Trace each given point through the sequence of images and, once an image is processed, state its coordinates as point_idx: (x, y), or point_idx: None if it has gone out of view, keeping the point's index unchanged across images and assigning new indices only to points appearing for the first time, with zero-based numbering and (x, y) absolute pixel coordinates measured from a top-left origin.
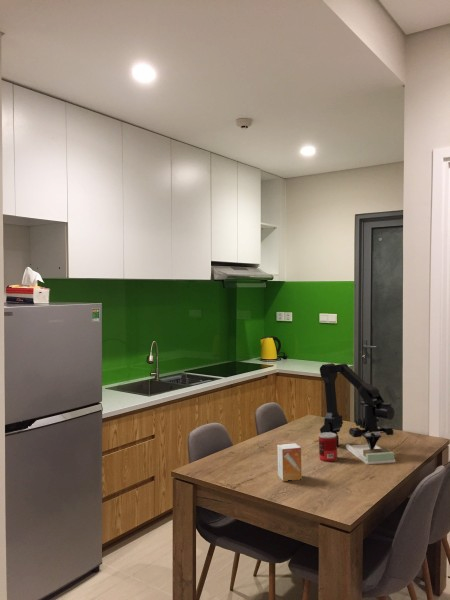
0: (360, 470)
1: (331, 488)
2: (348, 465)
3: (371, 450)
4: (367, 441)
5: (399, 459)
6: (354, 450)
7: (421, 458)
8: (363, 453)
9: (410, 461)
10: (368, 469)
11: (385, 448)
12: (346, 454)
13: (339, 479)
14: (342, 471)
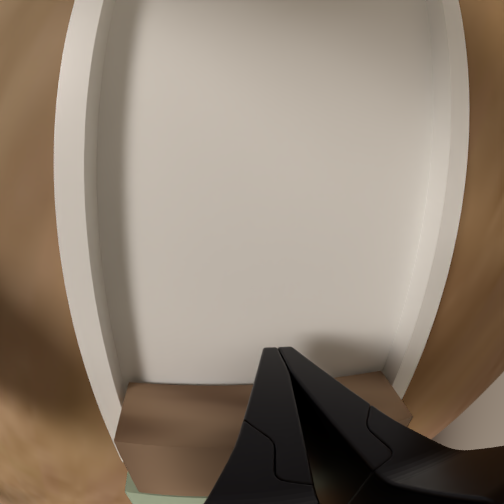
0: (81, 480)
1: (4, 498)
2: (15, 417)
3: (213, 472)
4: (236, 457)
5: (419, 391)
6: (56, 210)
7: (500, 369)
8: (122, 414)
9: (434, 416)
10: (125, 486)
11: (407, 424)
12: (12, 163)
13: (9, 484)
14: (2, 452)
